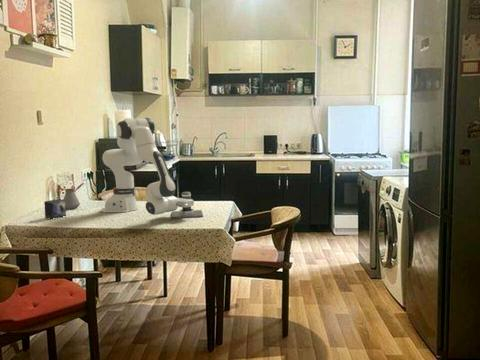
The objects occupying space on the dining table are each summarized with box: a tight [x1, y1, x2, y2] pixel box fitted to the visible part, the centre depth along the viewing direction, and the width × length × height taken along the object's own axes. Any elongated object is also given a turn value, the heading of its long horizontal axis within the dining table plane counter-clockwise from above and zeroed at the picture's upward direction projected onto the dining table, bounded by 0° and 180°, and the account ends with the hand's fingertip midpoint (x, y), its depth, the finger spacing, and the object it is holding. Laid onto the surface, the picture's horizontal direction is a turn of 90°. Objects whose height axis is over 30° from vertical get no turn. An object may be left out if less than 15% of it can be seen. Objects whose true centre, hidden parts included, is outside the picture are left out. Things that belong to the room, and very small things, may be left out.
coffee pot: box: [62, 182, 86, 210], centre depth 323 cm, size 21×12×15 cm, turn 162°
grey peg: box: [181, 191, 192, 211], centre depth 288 cm, size 5×5×12 cm
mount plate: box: [171, 208, 204, 220], centre depth 289 cm, size 18×16×3 cm
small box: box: [43, 198, 67, 220], centre depth 291 cm, size 11×6×10 cm, turn 148°
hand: (187, 199), depth 289 cm, fingers open, 5 cm apart
